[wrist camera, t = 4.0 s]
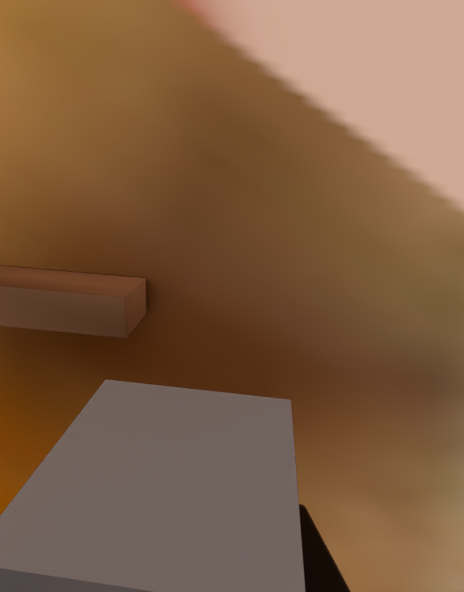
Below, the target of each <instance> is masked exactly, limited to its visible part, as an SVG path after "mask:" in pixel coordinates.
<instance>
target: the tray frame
mask: <svg viewBox="0 0 464 592" xmlns="http://www.w3.org/2000/svg"><path fill="white" fill-rule="evenodd" d="M146 314H147V310H146V278H138V277H127V276H115V275H104V274H92V273H80V272H69V271H57V270H45V269H34V268H22V267H10V266H0V326H7V327H17V328H27V329H38V330H48V331H58V332H68V333H78V334H88V335H98V336H108V337H118V338H127V337H128V335H129V334H130V333H131V332H132V331H133V329H134V328H135V327H136V326H137V325H138V323H139V322H140V321H141V320H142V319H143V317H144V316H145V315H146Z"/></svg>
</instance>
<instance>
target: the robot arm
mask: <svg viewBox="0 0 464 592" xmlns="http://www.w3.org/2000/svg"><path fill="white" fill-rule="evenodd" d="M299 514H300V527H301V540H302V554H303V567H304V580H305V592H350V590H349V588H348V586H347V584H346V582H345V580H344V578H343V577H342V575H341V573H340V571H339V569H338V567H337V565H336V563H335V562H334V560H333V558H332V556H331V554H330V552H329V550H328V548H327V546H326V545H325V543H324V541H323V539H322V537H321V535H320V533H319V531H318V530H317V528H316V526H315V524H314V522H313V520H312V518H311V516H310V515H309V513H308V511H307V509H306V508H305V506H303V505H301V504H299Z"/></svg>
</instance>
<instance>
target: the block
mask: <svg viewBox="0 0 464 592" xmlns="http://www.w3.org/2000/svg"><path fill="white" fill-rule="evenodd" d="M0 592H305V580H304V567H303V554H302V540H301V527H300V514H299V500H298V487H297V474H296V461H295V447H294V434H293V421H292V408H291V400H289V399H280V398H271V397H262V396H253V395H244V394H234V393H225V392H216V391H207V390H198V389H189V388H180V387H170V386H161V385H152V384H143V383H134V382H125V381H116V380H105V381H104V382H103V384H102V385H101V386H100V387H99V389H98V390H97V391H96V393H95V394H94V395H93V396H92V398H91V399H90V400H89V402H88V403H87V404H86V406H85V407H84V408H83V409H82V411H81V412H80V413H79V415H78V416H77V417H76V419H75V420H74V421H73V422H72V424H71V425H70V426H69V428H68V429H67V430H66V431H65V433H64V434H63V435H62V437H61V438H60V439H59V441H58V442H57V443H56V444H55V446H54V447H53V448H52V450H51V451H50V452H49V453H48V455H47V456H46V457H45V459H44V460H43V461H42V463H41V464H40V465H39V466H38V468H37V469H36V470H35V472H34V473H33V474H32V476H31V477H30V478H29V479H28V481H27V482H26V483H25V485H24V486H23V487H22V488H21V490H20V491H19V492H18V494H17V495H16V496H15V498H14V499H13V500H12V501H11V503H10V504H9V505H8V507H7V508H6V509H5V511H4V512H3V513H2V514H1V516H0Z"/></svg>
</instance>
